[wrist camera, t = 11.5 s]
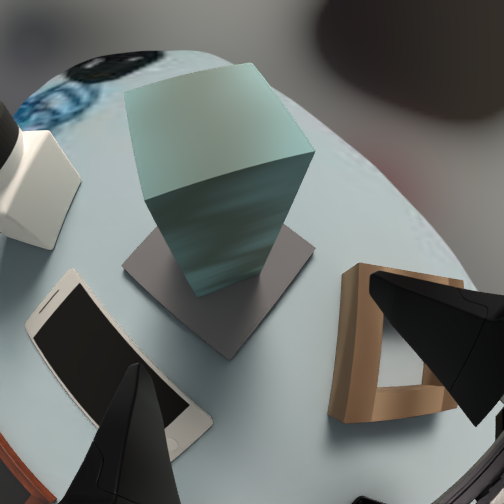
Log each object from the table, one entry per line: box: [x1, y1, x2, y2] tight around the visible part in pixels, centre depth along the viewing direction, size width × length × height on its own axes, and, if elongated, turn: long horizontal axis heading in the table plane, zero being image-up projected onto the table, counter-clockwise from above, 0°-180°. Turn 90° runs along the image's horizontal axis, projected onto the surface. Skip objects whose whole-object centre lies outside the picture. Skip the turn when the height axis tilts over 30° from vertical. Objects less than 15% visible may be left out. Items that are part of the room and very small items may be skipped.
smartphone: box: [25, 268, 213, 462], centre depth 16 cm, size 7×16×1 cm, turn 48°
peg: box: [124, 63, 315, 298], centre depth 13 cm, size 4×4×13 cm
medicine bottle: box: [0, 102, 81, 250], centre depth 14 cm, size 7×7×12 cm
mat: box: [122, 224, 315, 361], centre depth 20 cm, size 10×10×1 cm
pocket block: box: [328, 263, 464, 423], centre depth 17 cm, size 10×10×3 cm
